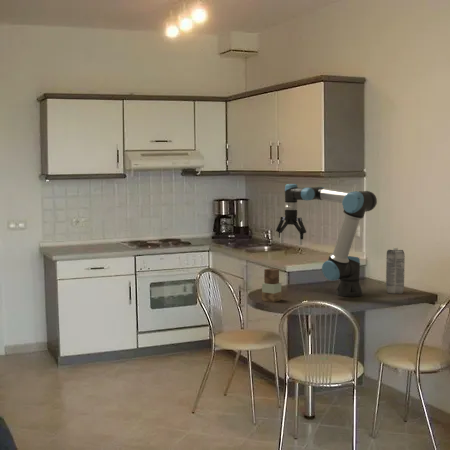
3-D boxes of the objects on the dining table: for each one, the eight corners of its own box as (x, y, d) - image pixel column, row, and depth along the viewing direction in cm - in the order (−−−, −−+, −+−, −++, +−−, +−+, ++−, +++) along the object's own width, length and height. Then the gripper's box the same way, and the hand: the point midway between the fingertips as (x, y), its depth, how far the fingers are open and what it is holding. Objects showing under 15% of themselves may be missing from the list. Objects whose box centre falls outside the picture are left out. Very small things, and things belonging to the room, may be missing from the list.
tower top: (281, 291, 409) (281, 282, 408) (273, 293, 402) (273, 284, 402) (269, 290, 413) (269, 281, 413) (262, 292, 407) (262, 283, 406)
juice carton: (404, 294, 424) (405, 249, 422) (386, 293, 426) (386, 248, 424) (403, 291, 433) (404, 247, 431) (385, 291, 435) (386, 247, 433)
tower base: (281, 300, 409) (281, 291, 408) (273, 302, 402) (273, 293, 402) (269, 298, 414) (269, 290, 413) (261, 300, 407) (261, 292, 407)
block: (279, 283, 408) (279, 269, 407) (273, 284, 403) (273, 270, 402) (270, 281, 411) (270, 268, 411) (264, 283, 407) (264, 269, 406)
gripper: (270, 208, 439) (270, 243, 441) (305, 210, 424) (305, 245, 426) (277, 208, 445) (277, 242, 447) (311, 209, 430) (311, 244, 432)
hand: (290, 243), depth 437 cm, fingers open, 13 cm apart
